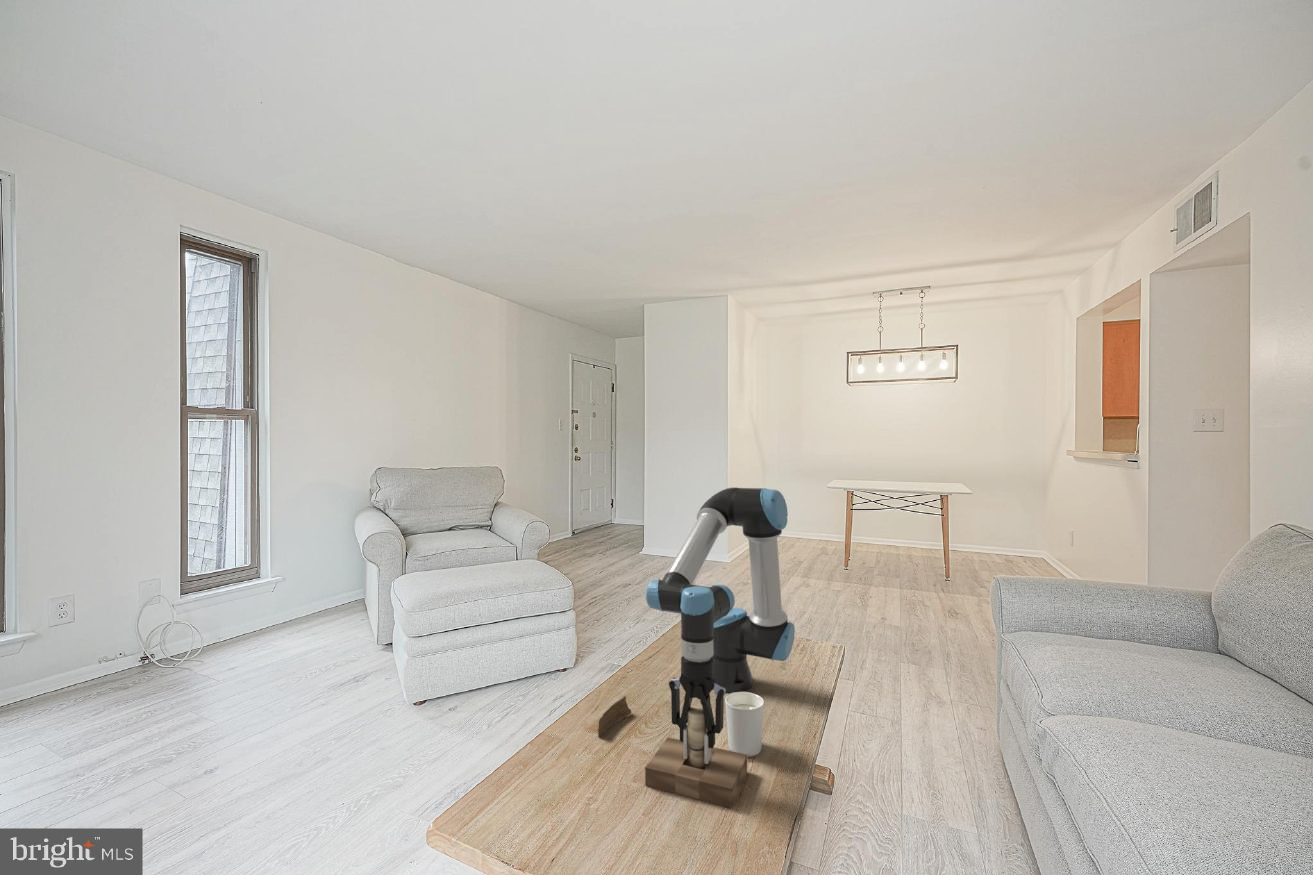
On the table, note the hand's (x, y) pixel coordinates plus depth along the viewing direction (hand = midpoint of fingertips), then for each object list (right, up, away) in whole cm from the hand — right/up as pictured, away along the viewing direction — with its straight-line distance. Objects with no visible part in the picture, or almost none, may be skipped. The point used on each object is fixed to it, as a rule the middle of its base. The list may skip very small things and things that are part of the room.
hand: (697, 757), depth 126 cm
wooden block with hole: (0, -5, 0) cm, 5 cm away
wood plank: (-21, -5, +24) cm, 32 cm away
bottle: (0, -1, 0) cm, 1 cm away
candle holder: (+13, -5, +13) cm, 19 cm away
